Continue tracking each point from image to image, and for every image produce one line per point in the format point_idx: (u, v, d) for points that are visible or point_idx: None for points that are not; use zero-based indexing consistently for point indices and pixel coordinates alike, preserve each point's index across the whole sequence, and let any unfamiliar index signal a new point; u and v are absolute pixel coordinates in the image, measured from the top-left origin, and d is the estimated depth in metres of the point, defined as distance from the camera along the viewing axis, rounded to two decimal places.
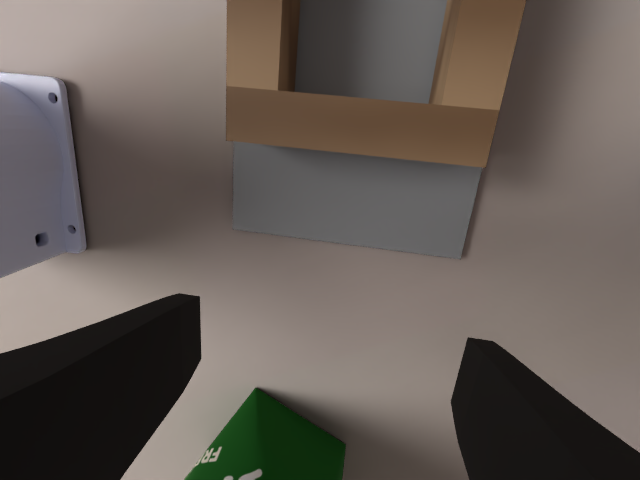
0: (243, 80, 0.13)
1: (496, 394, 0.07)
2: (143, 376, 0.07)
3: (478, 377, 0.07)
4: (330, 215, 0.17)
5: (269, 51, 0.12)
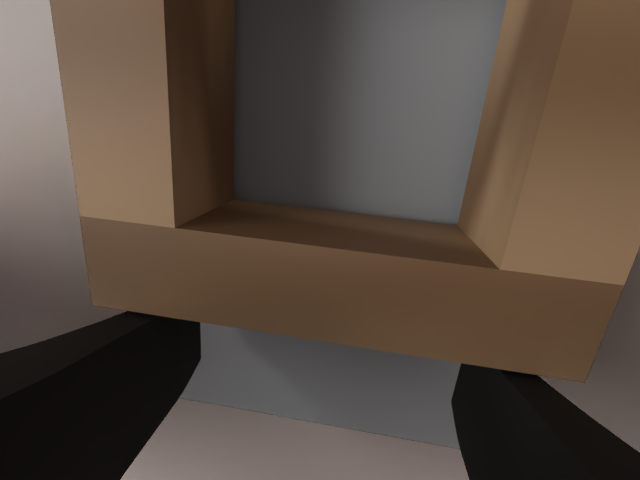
0: (109, 207, 0.07)
1: (496, 394, 0.07)
2: (143, 375, 0.07)
3: (478, 377, 0.07)
4: (299, 386, 0.11)
5: (151, 158, 0.06)
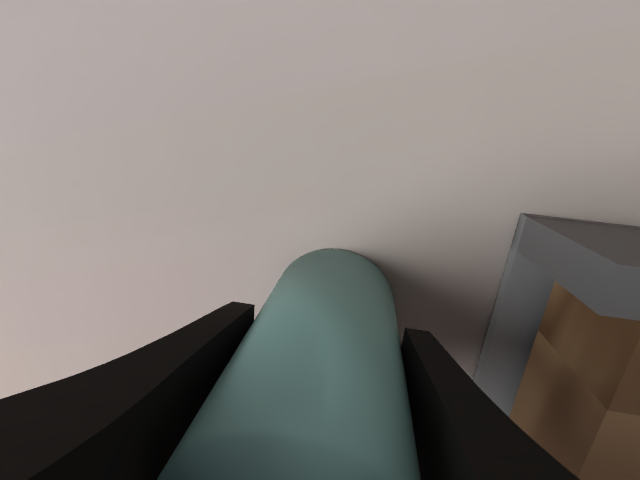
0: None
1: (417, 381, 0.07)
2: (212, 388, 0.07)
3: (408, 365, 0.08)
4: None
5: None
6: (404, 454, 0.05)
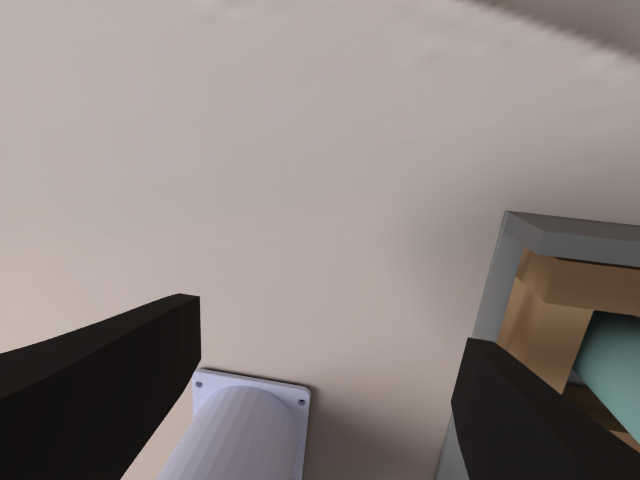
0: None
1: (496, 394, 0.07)
2: (143, 375, 0.07)
3: (478, 377, 0.07)
4: None
5: None
6: None
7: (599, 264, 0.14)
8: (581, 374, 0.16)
